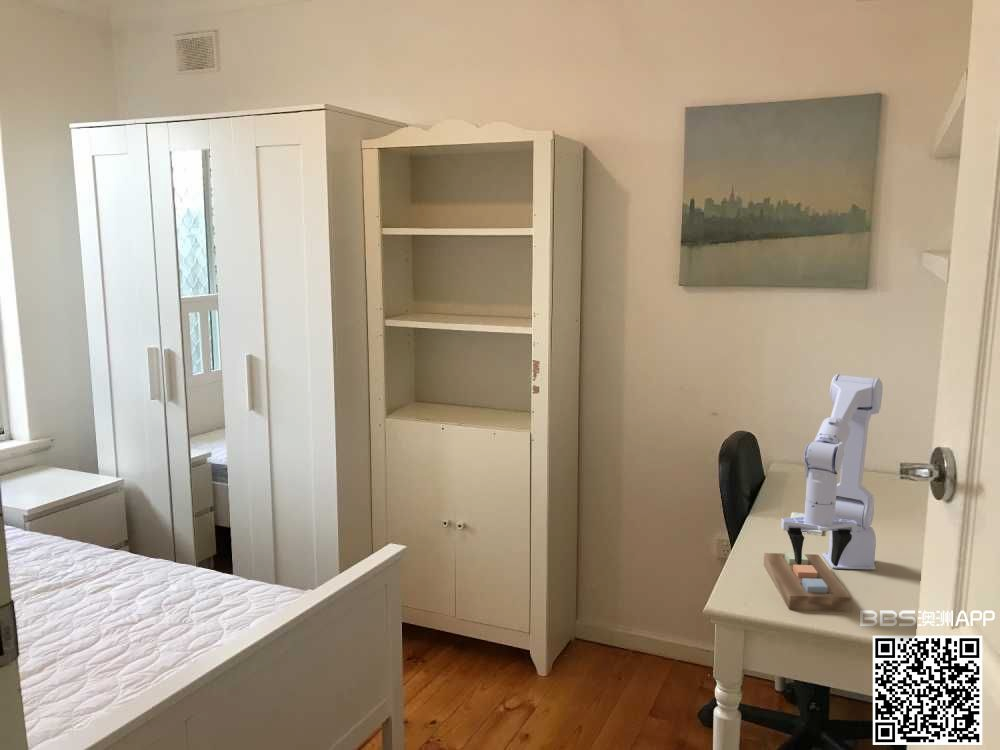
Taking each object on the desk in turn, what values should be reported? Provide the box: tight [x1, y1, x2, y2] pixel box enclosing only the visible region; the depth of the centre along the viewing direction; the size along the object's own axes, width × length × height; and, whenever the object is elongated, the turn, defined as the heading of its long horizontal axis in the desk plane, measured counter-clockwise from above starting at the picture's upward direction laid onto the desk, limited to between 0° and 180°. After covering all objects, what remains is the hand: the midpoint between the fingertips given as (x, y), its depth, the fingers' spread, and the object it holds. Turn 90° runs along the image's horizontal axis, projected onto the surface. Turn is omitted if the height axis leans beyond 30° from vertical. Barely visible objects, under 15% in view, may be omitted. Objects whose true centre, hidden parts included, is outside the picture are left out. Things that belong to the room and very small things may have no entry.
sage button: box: [784, 551, 808, 565], centre depth 181 cm, size 4×4×2 cm
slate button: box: [802, 578, 828, 593], centre depth 168 cm, size 4×4×2 cm
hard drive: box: [790, 511, 824, 536], centre depth 211 cm, size 2×8×12 cm
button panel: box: [763, 552, 852, 613], centre depth 175 cm, size 12×22×3 cm, turn 175°
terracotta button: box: [793, 565, 818, 579], centre depth 174 cm, size 4×4×2 cm
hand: (816, 563), depth 167 cm, fingers open, 7 cm apart
